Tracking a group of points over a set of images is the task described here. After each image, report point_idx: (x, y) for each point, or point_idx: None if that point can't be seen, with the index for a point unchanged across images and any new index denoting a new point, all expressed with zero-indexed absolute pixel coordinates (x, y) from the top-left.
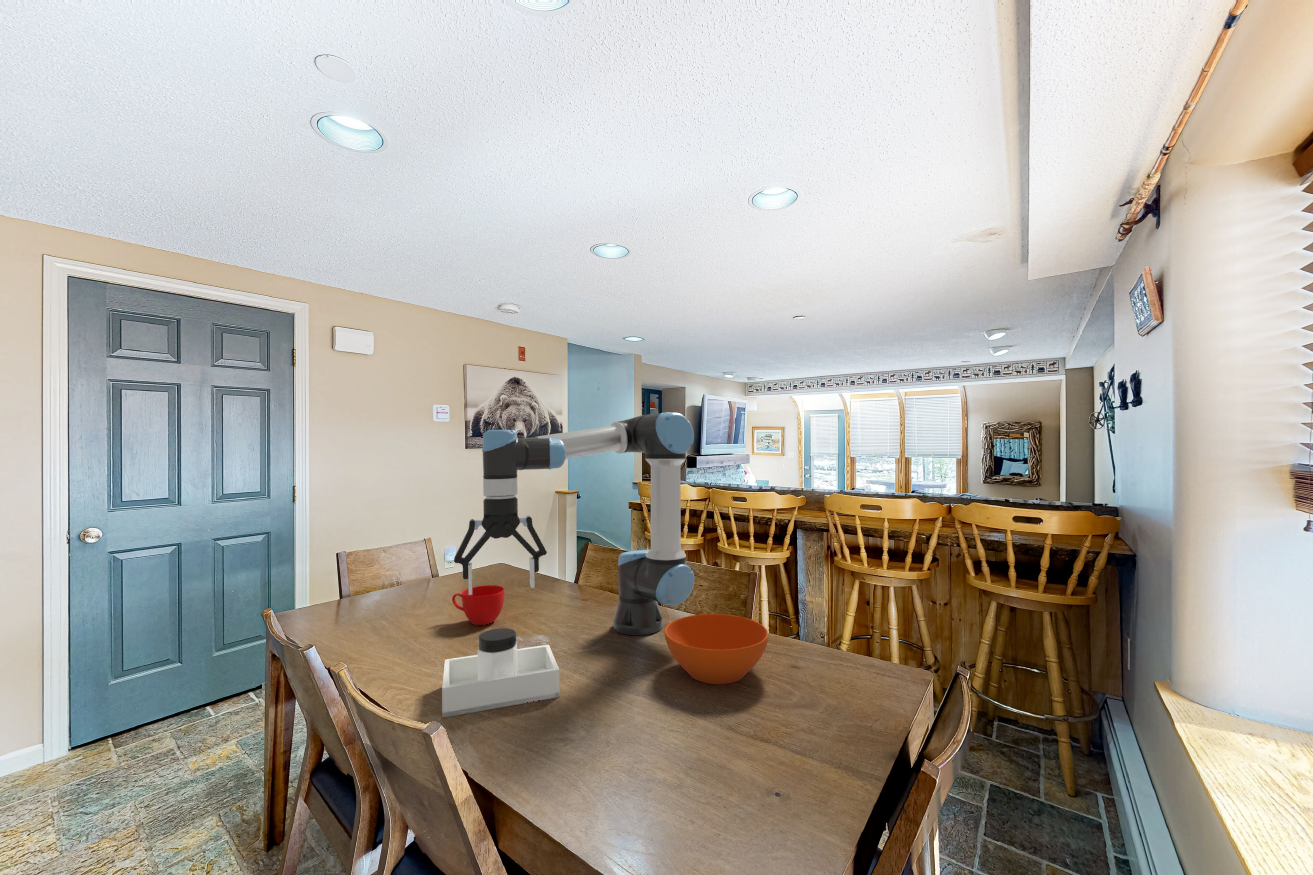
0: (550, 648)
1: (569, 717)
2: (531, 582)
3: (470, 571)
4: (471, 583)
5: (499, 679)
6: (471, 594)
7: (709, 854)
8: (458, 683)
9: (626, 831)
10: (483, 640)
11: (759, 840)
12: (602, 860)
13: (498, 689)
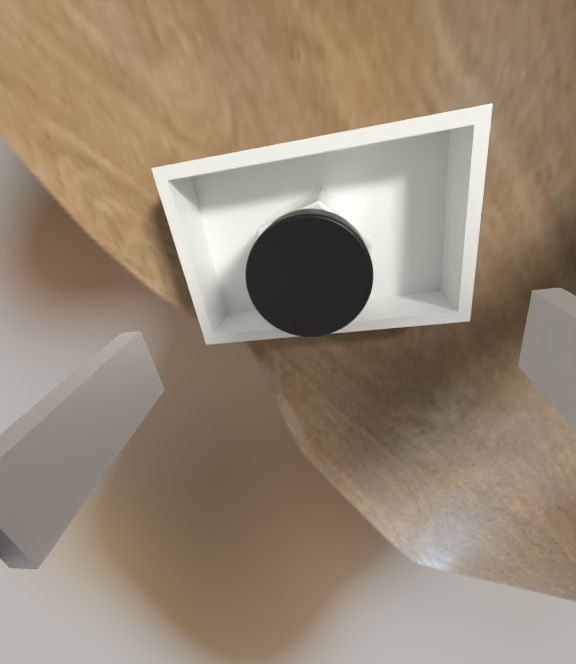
0: (487, 150)
1: (445, 372)
2: (541, 389)
3: (68, 509)
4: (129, 435)
5: None
6: (161, 391)
7: (500, 577)
8: (215, 191)
9: (444, 547)
10: (267, 320)
11: (550, 579)
12: (414, 560)
13: None
